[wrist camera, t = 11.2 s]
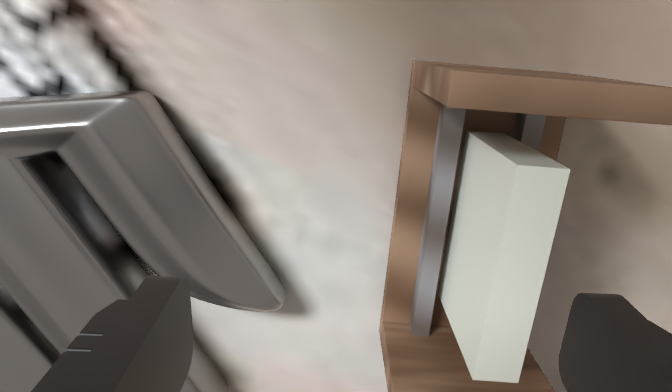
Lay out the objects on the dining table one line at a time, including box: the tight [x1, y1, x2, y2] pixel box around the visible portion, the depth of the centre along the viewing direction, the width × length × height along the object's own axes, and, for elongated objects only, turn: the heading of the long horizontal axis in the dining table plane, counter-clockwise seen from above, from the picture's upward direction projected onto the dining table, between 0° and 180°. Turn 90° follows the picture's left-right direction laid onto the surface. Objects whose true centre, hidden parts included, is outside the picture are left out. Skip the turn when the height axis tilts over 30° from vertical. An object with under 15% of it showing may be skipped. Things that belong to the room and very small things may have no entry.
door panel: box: [438, 130, 571, 383], centre depth 28 cm, size 12×3×9 cm, turn 175°
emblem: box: [0, 91, 285, 392], centre depth 32 cm, size 28×5×28 cm
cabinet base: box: [379, 61, 672, 392], centre depth 28 cm, size 20×10×11 cm, turn 175°
